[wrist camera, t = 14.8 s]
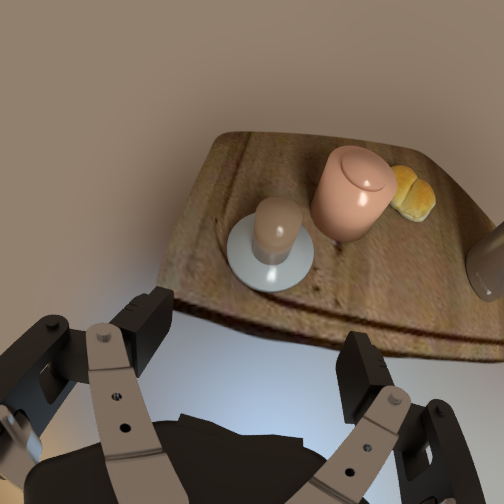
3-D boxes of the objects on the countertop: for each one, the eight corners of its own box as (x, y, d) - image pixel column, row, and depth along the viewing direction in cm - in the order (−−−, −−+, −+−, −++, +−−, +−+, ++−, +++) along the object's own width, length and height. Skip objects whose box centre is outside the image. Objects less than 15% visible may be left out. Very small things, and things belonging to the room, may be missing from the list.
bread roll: (393, 167, 39) (403, 150, 36) (434, 205, 36) (447, 190, 33) (367, 189, 36) (378, 171, 33) (413, 233, 34) (428, 217, 30)
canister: (342, 181, 36) (363, 134, 28) (380, 224, 34) (413, 182, 26) (297, 203, 34) (313, 152, 26) (338, 253, 31) (368, 210, 23)
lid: (278, 209, 34) (289, 162, 26) (324, 268, 30) (350, 232, 23) (212, 243, 31) (206, 199, 24) (256, 311, 28) (264, 285, 21)
